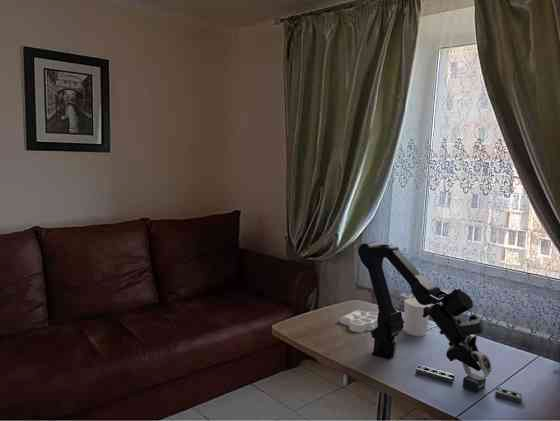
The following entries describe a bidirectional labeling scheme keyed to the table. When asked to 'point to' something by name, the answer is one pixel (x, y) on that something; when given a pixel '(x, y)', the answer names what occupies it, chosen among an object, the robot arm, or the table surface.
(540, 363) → the table surface
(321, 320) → the table surface
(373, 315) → the white lumpy slab
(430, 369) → the perforated metal strips
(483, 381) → the watch
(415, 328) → the candle holder
